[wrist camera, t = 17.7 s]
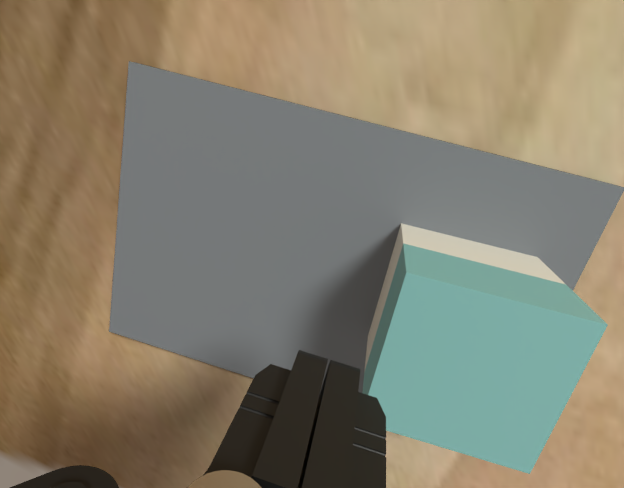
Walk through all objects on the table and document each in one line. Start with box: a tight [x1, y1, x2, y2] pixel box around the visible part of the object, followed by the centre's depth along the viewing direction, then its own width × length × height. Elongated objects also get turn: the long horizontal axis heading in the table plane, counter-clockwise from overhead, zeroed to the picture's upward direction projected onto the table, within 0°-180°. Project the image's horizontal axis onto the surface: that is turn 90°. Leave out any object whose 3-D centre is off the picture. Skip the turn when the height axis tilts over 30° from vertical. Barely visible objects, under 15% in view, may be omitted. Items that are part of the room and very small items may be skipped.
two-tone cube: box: [362, 223, 607, 474], centre depth 13 cm, size 5×5×5 cm
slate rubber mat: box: [109, 61, 624, 393], centre depth 17 cm, size 18×12×1 cm, turn 76°
